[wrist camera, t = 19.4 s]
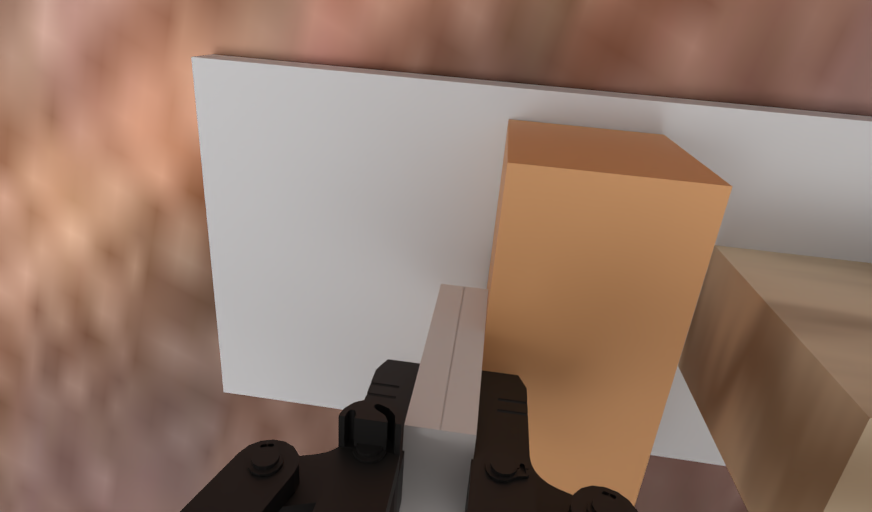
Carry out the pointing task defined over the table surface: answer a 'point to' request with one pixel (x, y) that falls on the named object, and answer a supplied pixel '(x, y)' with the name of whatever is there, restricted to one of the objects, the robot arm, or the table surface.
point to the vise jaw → (596, 290)
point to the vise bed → (453, 208)
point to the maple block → (786, 377)
